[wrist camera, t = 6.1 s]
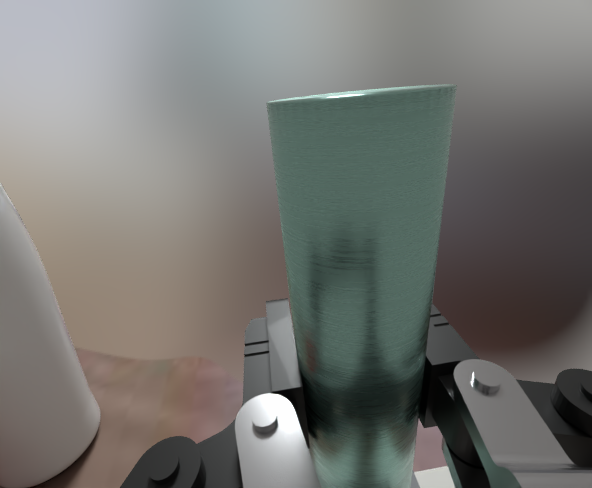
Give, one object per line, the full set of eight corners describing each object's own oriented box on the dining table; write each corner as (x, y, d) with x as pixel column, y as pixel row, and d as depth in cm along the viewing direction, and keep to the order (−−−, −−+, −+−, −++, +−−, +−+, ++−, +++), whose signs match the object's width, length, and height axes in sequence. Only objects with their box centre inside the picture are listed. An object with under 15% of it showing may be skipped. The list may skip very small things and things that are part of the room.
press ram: (324, 697, 10) (218, 122, 3) (302, 516, 14) (239, 102, 7) (453, 666, 10) (679, 73, 3) (394, 498, 14) (428, 83, 7)
